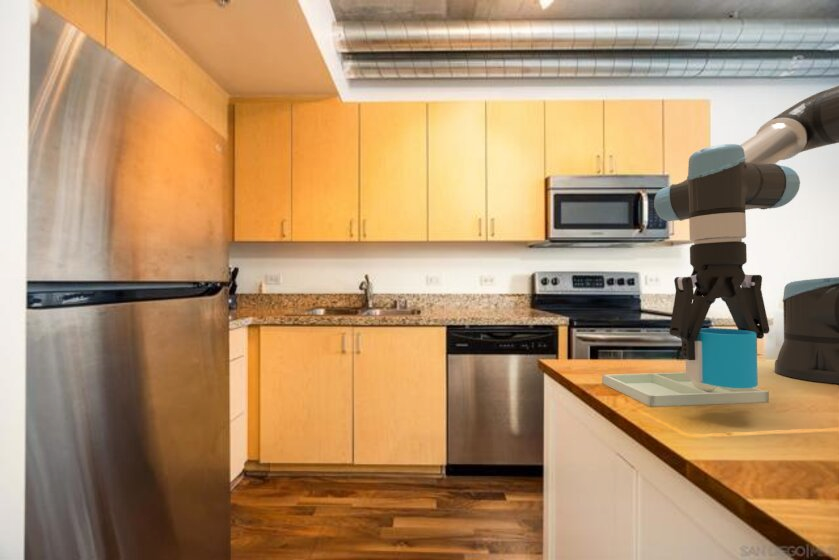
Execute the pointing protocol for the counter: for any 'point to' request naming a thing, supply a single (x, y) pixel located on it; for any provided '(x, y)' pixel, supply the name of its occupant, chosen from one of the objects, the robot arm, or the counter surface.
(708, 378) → the mug
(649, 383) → the grey-green flat rectangular tray
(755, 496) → the counter surface
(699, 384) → the egg
